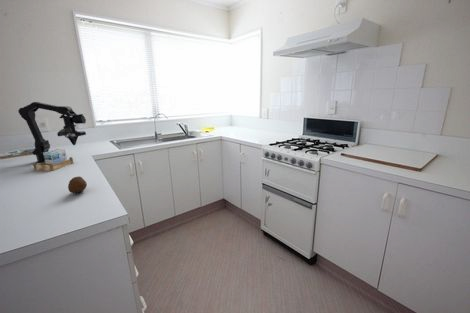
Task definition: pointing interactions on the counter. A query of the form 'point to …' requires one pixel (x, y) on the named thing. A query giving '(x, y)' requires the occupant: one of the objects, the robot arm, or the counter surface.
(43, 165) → the wooden frame
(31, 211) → the counter surface
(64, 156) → the light bulb box
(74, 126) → the robot arm
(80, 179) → the potato
